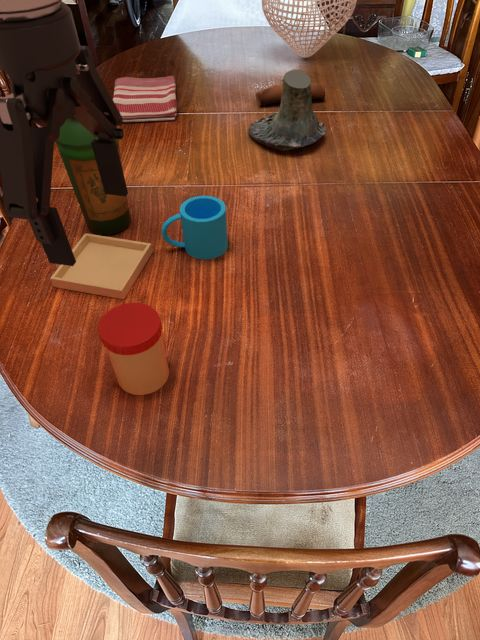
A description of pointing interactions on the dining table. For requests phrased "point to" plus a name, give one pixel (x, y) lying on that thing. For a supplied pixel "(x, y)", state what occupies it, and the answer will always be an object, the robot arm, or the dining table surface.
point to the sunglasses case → (275, 94)
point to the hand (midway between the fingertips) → (91, 225)
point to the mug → (201, 227)
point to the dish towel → (146, 98)
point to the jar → (141, 370)
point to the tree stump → (290, 117)
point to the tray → (103, 266)
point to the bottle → (90, 181)
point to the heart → (320, 24)
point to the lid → (130, 328)
